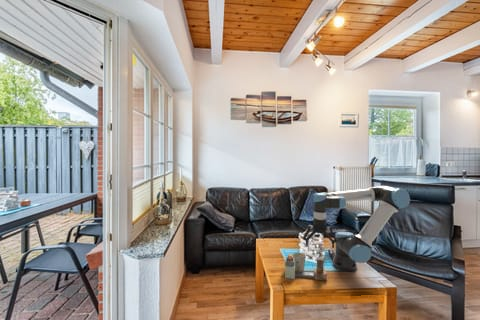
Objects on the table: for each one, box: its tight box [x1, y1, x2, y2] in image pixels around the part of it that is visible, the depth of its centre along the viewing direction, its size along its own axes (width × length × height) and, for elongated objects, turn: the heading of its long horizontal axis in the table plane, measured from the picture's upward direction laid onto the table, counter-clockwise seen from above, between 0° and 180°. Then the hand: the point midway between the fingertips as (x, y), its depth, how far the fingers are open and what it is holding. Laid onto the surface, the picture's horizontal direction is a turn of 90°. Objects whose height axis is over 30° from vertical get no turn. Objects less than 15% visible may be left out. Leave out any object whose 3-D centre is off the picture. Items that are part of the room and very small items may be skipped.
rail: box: [295, 270, 316, 280], centre depth 144 cm, size 19×4×2 cm, turn 78°
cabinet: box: [284, 256, 296, 280], centre depth 147 cm, size 6×9×10 cm, turn 168°
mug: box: [292, 252, 307, 272], centre depth 153 cm, size 8×13×10 cm, turn 79°
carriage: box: [313, 256, 328, 281], centre depth 143 cm, size 7×6×12 cm
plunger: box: [287, 253, 293, 261], centre depth 147 cm, size 3×3×3 cm
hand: (319, 251), depth 142 cm, fingers open, 13 cm apart
